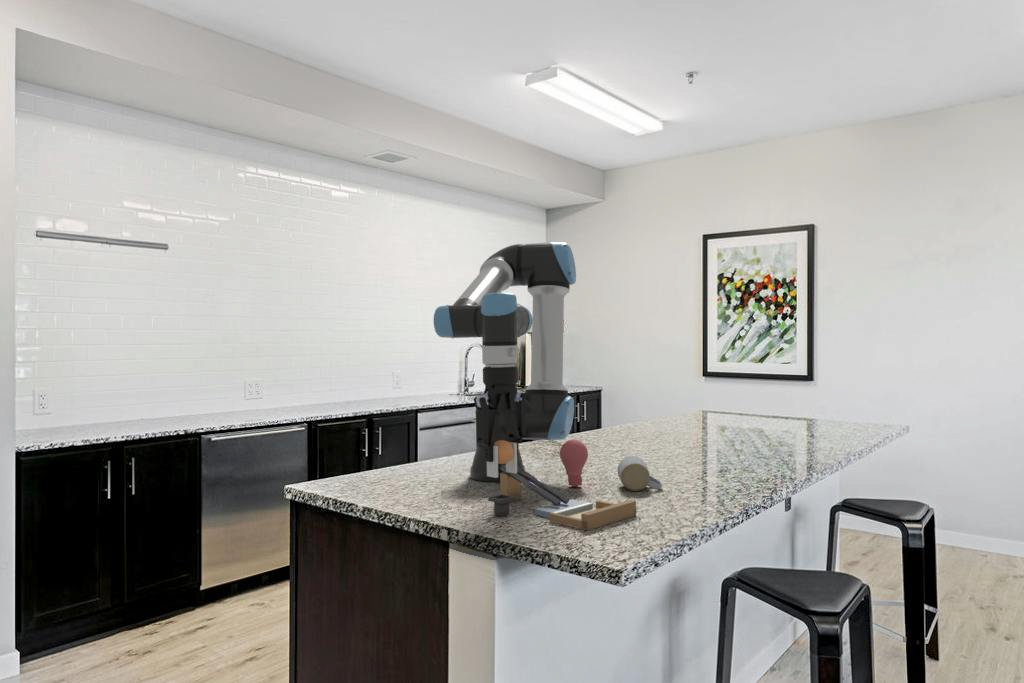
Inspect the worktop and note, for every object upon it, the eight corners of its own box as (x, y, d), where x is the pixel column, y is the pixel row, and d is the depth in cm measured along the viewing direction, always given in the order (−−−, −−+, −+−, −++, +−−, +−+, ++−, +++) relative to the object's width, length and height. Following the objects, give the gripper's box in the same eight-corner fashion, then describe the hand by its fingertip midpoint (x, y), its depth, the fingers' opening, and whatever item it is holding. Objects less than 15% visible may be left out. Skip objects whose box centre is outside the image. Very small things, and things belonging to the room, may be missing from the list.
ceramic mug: (620, 492, 165) (621, 460, 165) (617, 485, 173) (617, 455, 173) (664, 493, 164) (664, 461, 164) (659, 486, 172) (659, 456, 172)
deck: (535, 514, 144) (534, 508, 144) (571, 504, 152) (571, 499, 152) (556, 519, 139) (556, 513, 139) (592, 509, 148) (592, 503, 148)
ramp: (500, 500, 157) (499, 465, 157) (513, 497, 160) (513, 462, 160) (556, 513, 144) (556, 474, 144) (570, 509, 147) (569, 472, 147)
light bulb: (555, 488, 170) (555, 440, 170) (566, 483, 176) (566, 437, 176) (582, 491, 166) (581, 442, 166) (592, 485, 172) (591, 438, 173)
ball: (485, 464, 144) (485, 440, 144) (502, 460, 148) (501, 437, 148) (501, 467, 141) (501, 443, 140) (518, 463, 144) (518, 439, 144)
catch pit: (549, 521, 138) (549, 506, 138) (598, 507, 149) (598, 494, 149) (587, 530, 131) (587, 515, 131) (636, 515, 142) (636, 501, 142)
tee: (488, 514, 144) (488, 497, 144) (502, 511, 146) (501, 494, 146) (501, 518, 141) (501, 500, 141) (515, 514, 144) (514, 496, 144)
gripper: (480, 368, 135) (482, 484, 135) (541, 364, 147) (543, 470, 148) (456, 367, 140) (458, 479, 141) (517, 363, 153) (519, 465, 153)
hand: (502, 474), depth 144 cm, fingers closed on ball, 5 cm apart
